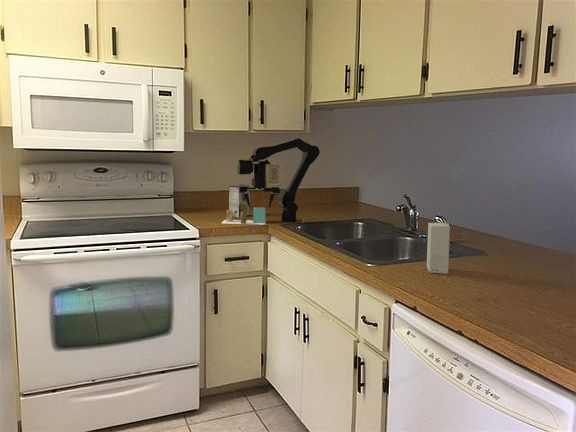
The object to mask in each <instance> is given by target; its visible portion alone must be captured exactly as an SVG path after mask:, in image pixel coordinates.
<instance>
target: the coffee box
mask: <svg viewBox="0 0 576 432" xmlns="http://www.w3.org/2000/svg"><path fill="white" fill-rule="evenodd" d="M240 186H249V187H250V184H241V183H240V184H239V183H238V184H233V185H232V184H231V185H228V189H229V190H228V199H229V200H228V208H229V209H228V210H233V217H236V218H241V212H246V216H250V208H249V205H248V202H247V200H246V198H245V196H244V195H242V193H239V187H240Z"/></svg>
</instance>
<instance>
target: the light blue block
mask: <svg viewBox="0 0 576 432" xmlns="http://www.w3.org/2000/svg"><path fill="white" fill-rule="evenodd" d="M252 211H253V214H252V217H253V219H252V221H253V223H265V221H266V207H257V206H254V207H253V209H252ZM265 224H266V223H265Z"/></svg>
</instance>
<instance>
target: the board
mask: <svg viewBox="0 0 576 432" xmlns="http://www.w3.org/2000/svg"><path fill="white" fill-rule="evenodd" d="M266 222H267V220H265V223H253V219H252V220H247V219H246V224H245V225H261V226H262V225H266ZM221 224H227V225H229V224H230V225H231V224H233V225H236V224H237V225H242V224H241V219H233V221H232V222H226V219H224V220H223V221H222V222H221Z"/></svg>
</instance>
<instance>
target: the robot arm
mask: <svg viewBox="0 0 576 432" xmlns="http://www.w3.org/2000/svg"><path fill="white" fill-rule="evenodd" d="M294 148H295V149H298V150H300V152H302V155H301V161H300V163H299V165H298V167H297V169H296V171H295V173H294V175H293V176H292V179H291V180H290V182H289V184H288V186H287V188H286V189H284V188H281V187H280V185H279V186H278V185H277V186H276V185H275V186H274V185H272V186H271V187H268V184H267V166H268V165H271V162H270V161H269V160H268V158H270V157H272V155H275V154H277V153H281V152H284V151H288V150H292V149H294ZM320 153H321V151H320V148H319V147H318V146H316V145H311V144H310V143H308V142H306V141H304V140H302V139H301V138H299V137H298V138H297V137H295V138H293V139H290V140H286V141H282V142H278V143H276V144H274V145H265V146H256V147H254V149H253V151H252V154H251V156H250V157H249V158H248V159H238V161H237V166H236V170H237V175H240V176H241V175H251V174H252V173H253V178H252V179H251V186H252V187H251V186H250V185H249V186H240V187H239V193H242V195H244V196H245V198H246V200H247V202H248V205H249V209H250V208H251V205H252V204H251V197H250V192H268V193H269V192H270V195H269V204H268V209H270V208H271V206H272V203H273V200H274V198H275V196H277V195H278V194H279V195H278V198H277V199H278V200H277V201H278V204H279V205H280V206H281V208H282V212H281V222H283V223H297V212H298V209H299V206H298V205H297V204H296V203H295V201H296V198H297V197H296V194H297V191H298V189H299V187H300V185H301V183H302V181H303V179H304V177H305V175H306V173H307V172H308V170H309V168H310V166H311V165H312V164H313V163H314V162H315V161H316V159H317V158H318V157H319V155H320Z"/></svg>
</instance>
